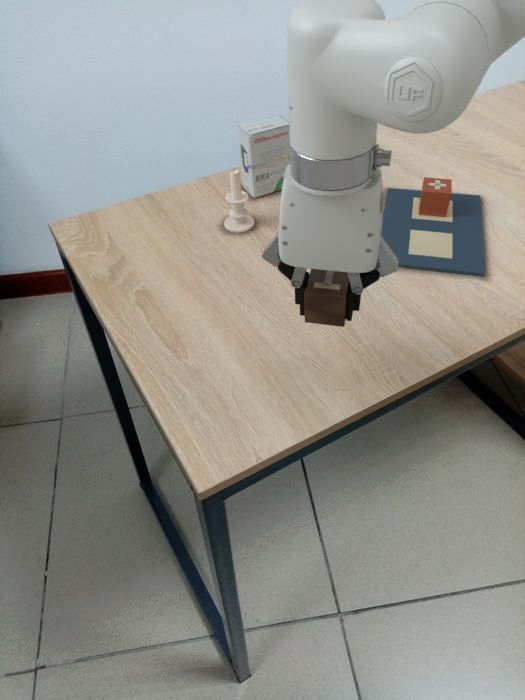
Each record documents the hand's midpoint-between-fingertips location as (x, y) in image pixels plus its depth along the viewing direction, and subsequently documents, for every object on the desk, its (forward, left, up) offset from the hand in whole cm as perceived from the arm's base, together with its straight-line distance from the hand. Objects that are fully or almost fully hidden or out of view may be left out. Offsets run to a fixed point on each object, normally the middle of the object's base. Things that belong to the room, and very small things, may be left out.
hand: (327, 309), depth 61 cm
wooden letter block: (0, 0, 0) cm, 0 cm away
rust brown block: (-12, -39, -10) cm, 42 cm away
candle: (+20, -30, -11) cm, 37 cm away
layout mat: (-12, -34, -10) cm, 37 cm away
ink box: (+18, -43, -11) cm, 47 cm away
